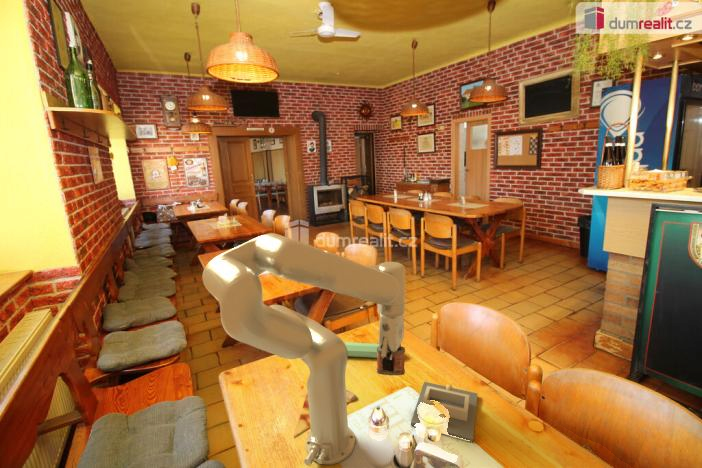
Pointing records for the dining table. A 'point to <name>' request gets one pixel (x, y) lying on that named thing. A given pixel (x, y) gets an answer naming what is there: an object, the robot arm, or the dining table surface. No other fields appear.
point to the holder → (451, 408)
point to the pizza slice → (305, 417)
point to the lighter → (398, 362)
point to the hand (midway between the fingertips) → (390, 365)
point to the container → (362, 349)
